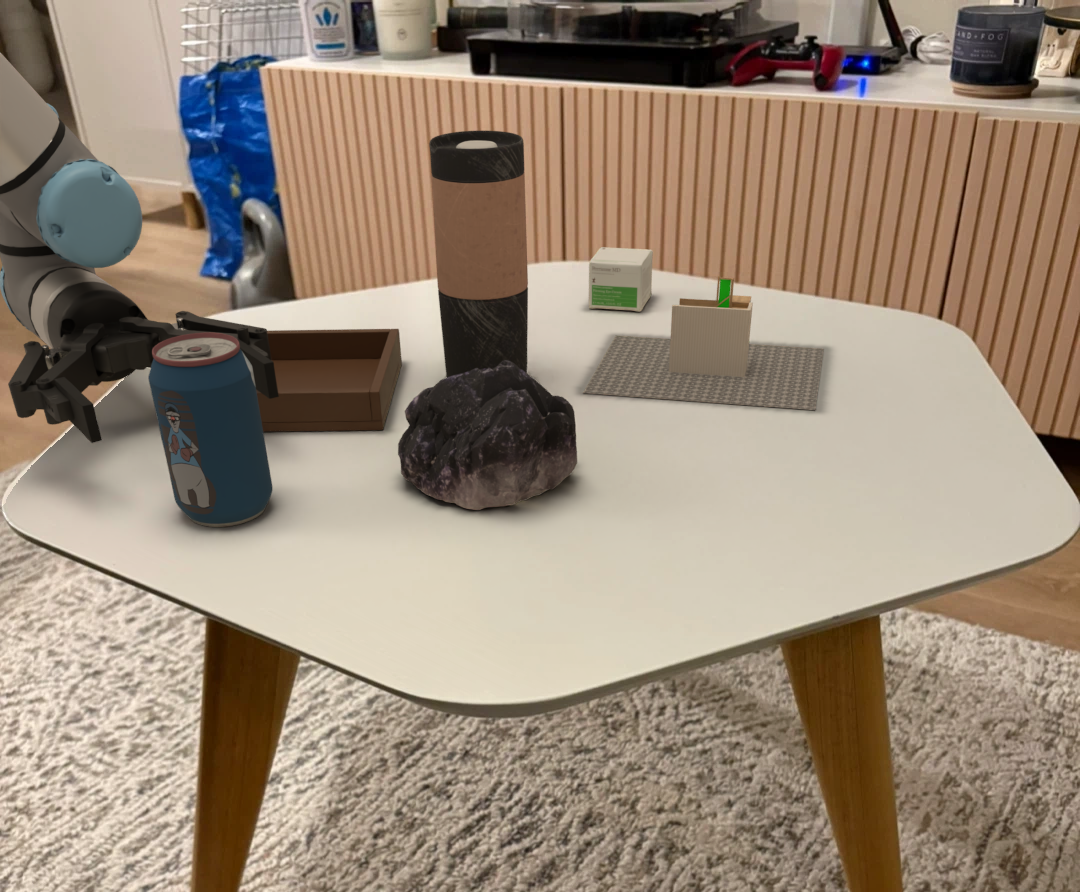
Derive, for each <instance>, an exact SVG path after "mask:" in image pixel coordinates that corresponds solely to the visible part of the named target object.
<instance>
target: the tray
mask: <svg viewBox="0 0 1080 892" xmlns="http://www.w3.org/2000/svg"><path fill="white" fill-rule="evenodd" d="M267 334H268V340H269V346H270V353H271V361H273V363H274V369H275V376H276V382H277V389H278V395H279V397H276V398H272V399H269V398H268V397H266V396H265V395H263V394H262V393H261V392H259V391H258V390H256V392H257V398H258V404H259V410H260V416H261V421H262V427H263V433H265V432H267V433H268V432H324V431H325V432H334V431H335V432H336V431H338V432H339V431H342V432H343V431H383V430H384V427H385V424H386V421H387V417H388V413H389V410H390V407H391V404H392V400H393V396H394V392H395V389H396V386H397V382H398V380H399V379H398V378H399V374H400V371H401V368H402V364H403V362H402V361H403V360H402V358H403V357H402V348H401V337H400V329H399V328H356V329H355V328H354V329H353V328H352V329H351V328H350V329H349V328H348V329H342V328H341V329H291V330H290V329H288V330H287V329H286V330H285V329H284V330H281V329H279V330H277V329H276V330H267Z"/></svg>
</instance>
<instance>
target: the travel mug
mask: <svg viewBox="0 0 1080 892" xmlns="http://www.w3.org/2000/svg"><path fill="white" fill-rule="evenodd" d="M428 147H429V155H430V157H429V159H430V172H431V190H432V193H431V194H432V207H433V208H432V209H433V211H432V212H433V226H434V227H433V228H434V243H435V244H434V245H435V247H434V248H435V262H436V263H435V264H436V281H437V282H436V283H437V289H438V290H437V293H438V305H439V313H440V314H439V315H440V325H441V336H442V347H443V357H444V367H445V376H446V377H445V378H448V377H450V376H453V375H457V374H461V373H465V372H468V371H471V370H473V369H475V368H478V369H484V368H487V369H488V368H491V369H493V368H495V367H496V366H498V365H499V364H500V363H501V362H502V361H503V360H509V361H511V362H513V363H514V364H515V365H517V366H518V367H519V368H520V369H521V370H523V371H525V372H526V373H527V374H528V333H529V331H528V329H529V327H528V326H529V322H528V321H529V319H528V318H529V314H528V313H529V287H528V285H529V276H528V275H529V274H528V273H529V271H528V241H527V237H528V236H527V211H526V208H527V207H526V205H527V204H526V177H525V176H526V173H525V144H524V139H523V137H522V136H521V135H519V134H517V133H514V132H509V131H500V130H463V131H461V130H460V131H454V132H447V133H443V134H439V135H436V136H433V137H432V138H431V139H430V140H429V143H428Z"/></svg>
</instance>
